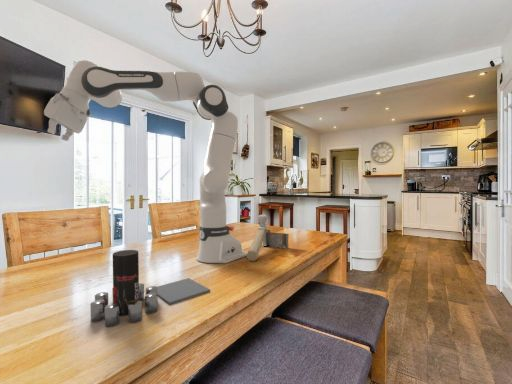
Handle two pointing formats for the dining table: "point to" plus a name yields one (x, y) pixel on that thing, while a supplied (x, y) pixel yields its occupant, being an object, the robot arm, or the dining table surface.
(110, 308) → the grey upright cylinders
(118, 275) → the deodorant
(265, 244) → the hammer
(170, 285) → the slate mat
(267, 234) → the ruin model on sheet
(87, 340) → the dining table surface
